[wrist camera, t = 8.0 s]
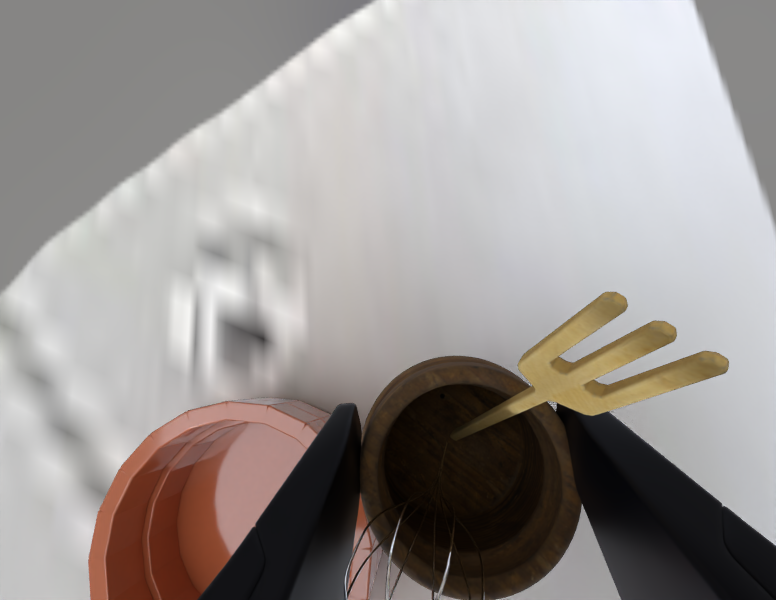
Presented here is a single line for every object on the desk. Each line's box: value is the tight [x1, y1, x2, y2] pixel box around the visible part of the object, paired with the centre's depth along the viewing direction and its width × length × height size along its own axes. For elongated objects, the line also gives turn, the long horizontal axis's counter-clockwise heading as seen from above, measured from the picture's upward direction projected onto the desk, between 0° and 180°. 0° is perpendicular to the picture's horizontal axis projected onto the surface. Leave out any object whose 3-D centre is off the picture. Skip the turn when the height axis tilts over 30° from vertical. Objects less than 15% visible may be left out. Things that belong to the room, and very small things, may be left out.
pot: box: [88, 397, 382, 600], centre depth 19 cm, size 12×12×5 cm
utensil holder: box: [344, 292, 729, 600], centre depth 10 cm, size 6×6×12 cm
